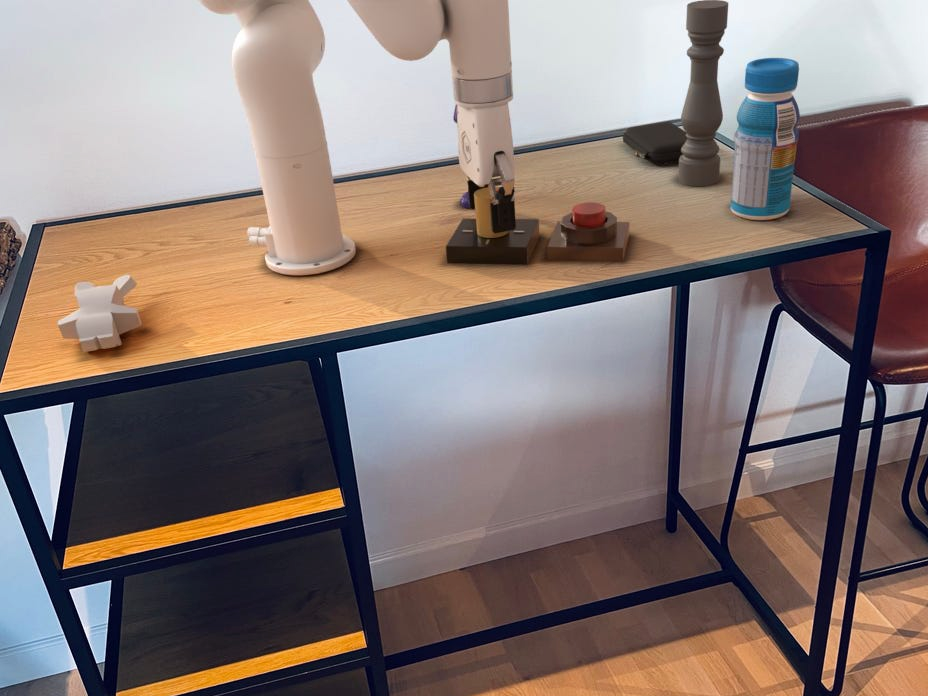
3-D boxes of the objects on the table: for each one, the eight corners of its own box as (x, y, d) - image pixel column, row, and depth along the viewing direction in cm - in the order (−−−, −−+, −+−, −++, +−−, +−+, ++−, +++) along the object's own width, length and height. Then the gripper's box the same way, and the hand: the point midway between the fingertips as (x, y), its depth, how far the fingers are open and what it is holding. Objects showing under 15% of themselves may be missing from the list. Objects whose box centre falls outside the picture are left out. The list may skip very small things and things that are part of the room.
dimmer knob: (474, 238, 134) (471, 196, 130) (479, 225, 137) (476, 185, 134) (506, 238, 133) (504, 196, 129) (511, 225, 136) (508, 184, 133)
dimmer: (447, 263, 134) (445, 245, 132) (464, 234, 142) (462, 217, 140) (527, 265, 131) (526, 246, 130) (539, 235, 139) (539, 217, 138)
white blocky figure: (50, 334, 116) (61, 270, 127) (64, 369, 119) (74, 304, 130) (132, 320, 117) (136, 259, 128) (144, 356, 120) (147, 293, 131)
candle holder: (688, 189, 150) (697, 10, 135) (671, 176, 155) (677, 3, 140) (726, 182, 151) (738, 4, 136) (707, 170, 156) (717, -3, 141)
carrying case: (612, 144, 170) (645, 170, 158) (612, 126, 168) (645, 151, 156) (671, 135, 171) (707, 160, 159) (671, 117, 169) (708, 141, 158)
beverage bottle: (727, 221, 138) (738, 72, 127) (730, 199, 145) (740, 56, 133) (790, 222, 136) (807, 71, 125) (790, 200, 143) (805, 54, 131)
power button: (570, 229, 131) (569, 214, 130) (574, 216, 135) (574, 201, 133) (603, 229, 130) (603, 214, 129) (607, 216, 134) (607, 202, 132)
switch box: (547, 260, 132) (546, 232, 130) (557, 234, 139) (557, 207, 137) (622, 262, 130) (623, 233, 127) (629, 235, 137) (629, 207, 135)
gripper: (435, 77, 130) (447, 203, 140) (475, 109, 116) (485, 246, 126) (489, 69, 132) (497, 194, 142) (535, 99, 118) (540, 235, 128)
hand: (492, 218), depth 134 cm, fingers open, 9 cm apart
